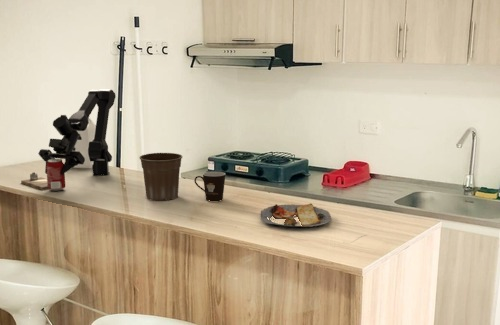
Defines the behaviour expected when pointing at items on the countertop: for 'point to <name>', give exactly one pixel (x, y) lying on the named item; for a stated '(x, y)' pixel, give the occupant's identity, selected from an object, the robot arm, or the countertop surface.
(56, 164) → the soda can
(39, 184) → the carrier board
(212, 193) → the coffee mug
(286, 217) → the food plate
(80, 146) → the milk
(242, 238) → the countertop surface
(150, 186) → the plant pot
